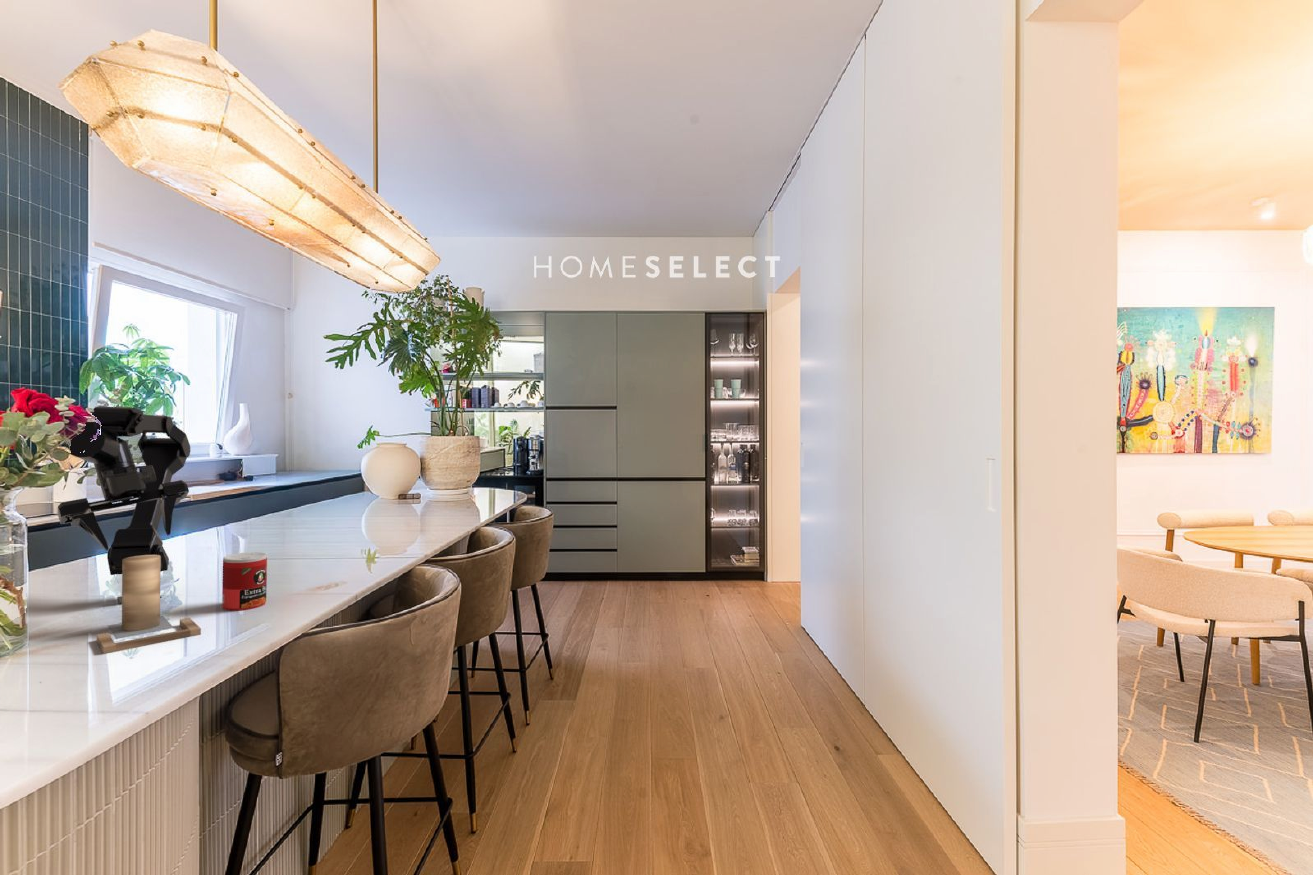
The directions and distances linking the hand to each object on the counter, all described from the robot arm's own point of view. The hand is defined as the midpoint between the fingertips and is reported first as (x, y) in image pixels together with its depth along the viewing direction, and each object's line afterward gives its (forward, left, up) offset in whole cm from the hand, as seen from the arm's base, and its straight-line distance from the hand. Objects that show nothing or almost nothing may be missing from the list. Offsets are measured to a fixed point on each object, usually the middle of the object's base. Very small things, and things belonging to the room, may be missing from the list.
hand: (139, 542), depth 113 cm
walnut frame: (+12, 0, -16) cm, 20 cm away
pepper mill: (+4, 0, -15) cm, 16 cm away
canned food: (+2, +17, -16) cm, 23 cm away
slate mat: (+4, 0, -16) cm, 16 cm away
